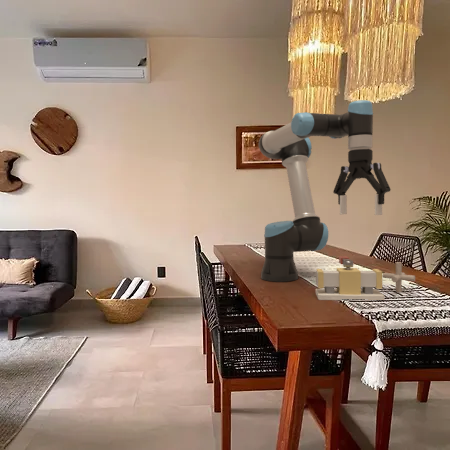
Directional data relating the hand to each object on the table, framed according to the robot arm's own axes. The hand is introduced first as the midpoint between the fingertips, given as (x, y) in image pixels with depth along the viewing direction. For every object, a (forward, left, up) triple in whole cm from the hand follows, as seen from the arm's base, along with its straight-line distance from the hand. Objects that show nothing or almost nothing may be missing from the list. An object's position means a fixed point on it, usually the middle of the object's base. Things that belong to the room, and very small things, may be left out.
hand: (360, 214), depth 125 cm
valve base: (+4, -4, -27) cm, 27 cm away
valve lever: (0, -4, -17) cm, 17 cm away
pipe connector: (-4, +14, -27) cm, 30 cm away
